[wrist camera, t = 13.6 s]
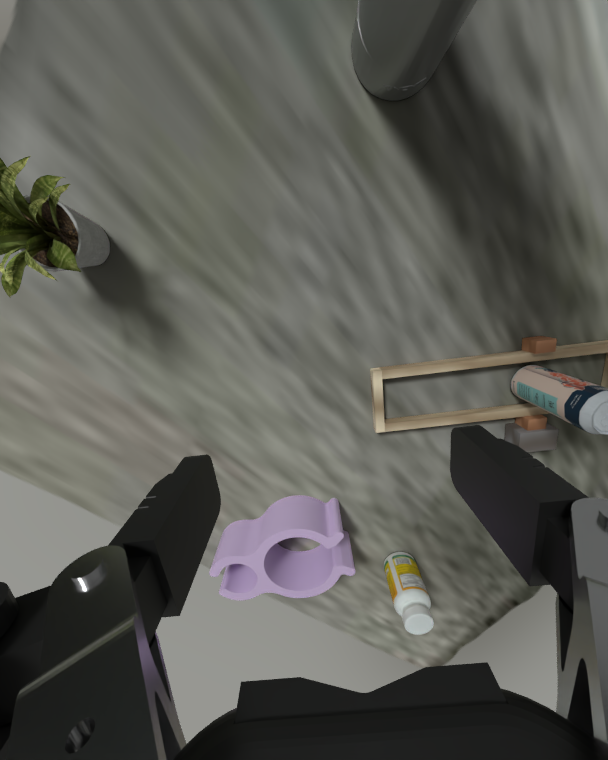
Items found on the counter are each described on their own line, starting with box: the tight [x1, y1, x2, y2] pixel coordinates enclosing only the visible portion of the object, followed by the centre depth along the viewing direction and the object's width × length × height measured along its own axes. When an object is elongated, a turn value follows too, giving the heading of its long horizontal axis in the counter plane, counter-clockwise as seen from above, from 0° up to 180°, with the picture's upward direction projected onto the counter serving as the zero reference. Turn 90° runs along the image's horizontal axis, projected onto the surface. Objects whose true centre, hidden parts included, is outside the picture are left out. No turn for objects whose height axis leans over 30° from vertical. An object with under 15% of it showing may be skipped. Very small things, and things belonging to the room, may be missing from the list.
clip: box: [209, 495, 355, 600], centre depth 45 cm, size 20×12×7 cm, turn 107°
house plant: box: [0, 156, 110, 298], centre depth 28 cm, size 14×14×16 cm
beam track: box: [370, 336, 608, 452], centre depth 40 cm, size 15×32×3 cm, turn 97°
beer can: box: [511, 365, 608, 434], centre depth 35 cm, size 5×5×12 cm
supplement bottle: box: [384, 552, 434, 635], centre depth 45 cm, size 5×5×10 cm
